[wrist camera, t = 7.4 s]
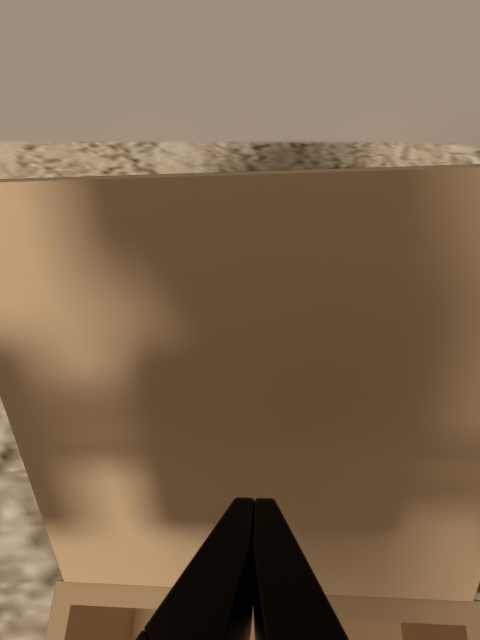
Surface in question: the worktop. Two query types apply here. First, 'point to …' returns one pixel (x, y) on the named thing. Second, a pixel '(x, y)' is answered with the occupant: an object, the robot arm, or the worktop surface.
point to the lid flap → (250, 368)
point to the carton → (352, 611)
